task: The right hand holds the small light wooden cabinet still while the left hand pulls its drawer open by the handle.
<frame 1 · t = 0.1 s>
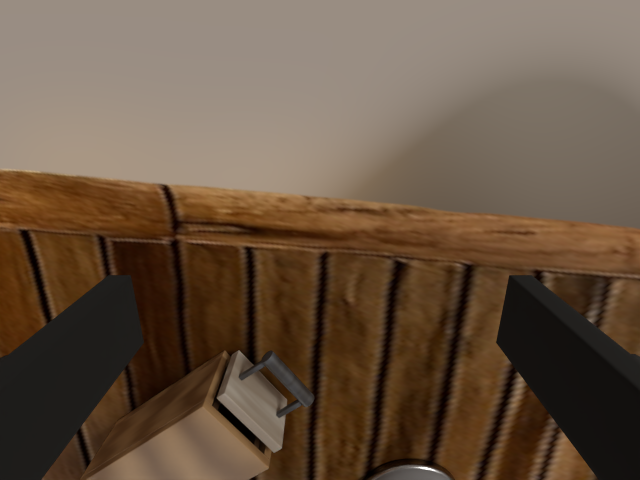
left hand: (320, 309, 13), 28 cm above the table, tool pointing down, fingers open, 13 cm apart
drawer: (218, 421, 45), point 5 cm above the table, slide at 1.0 cm
cabinet: (197, 412, 50), on the table
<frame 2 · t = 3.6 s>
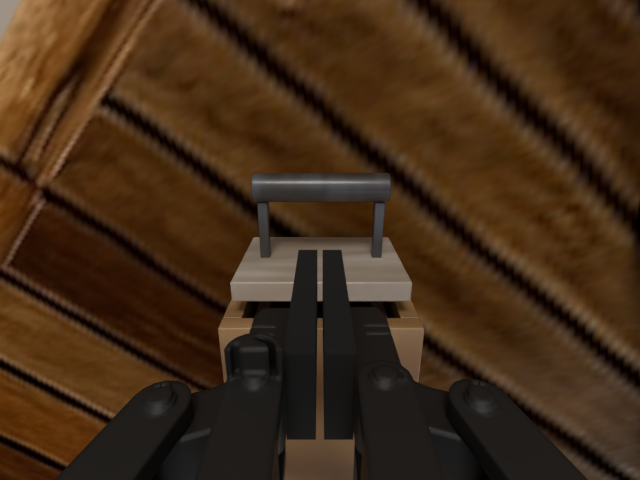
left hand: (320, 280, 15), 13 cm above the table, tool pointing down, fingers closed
drawer: (320, 344, 25), point 5 cm above the table, slide at 1.0 cm
cabinet: (320, 364, 32), on the table, touching right hand
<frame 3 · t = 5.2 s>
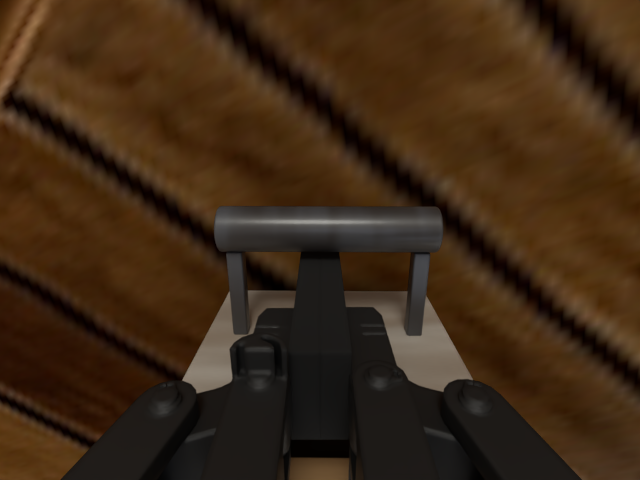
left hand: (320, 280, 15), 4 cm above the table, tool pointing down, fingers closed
drawer: (326, 452, 17), point 5 cm above the table, slide at 1.3 cm
cabinet: (325, 455, 23), on the table, touching right hand
when the right hand's fingers open (5 cm above the table, at t = 8.5 s): cabinet stays where it is, on the table.
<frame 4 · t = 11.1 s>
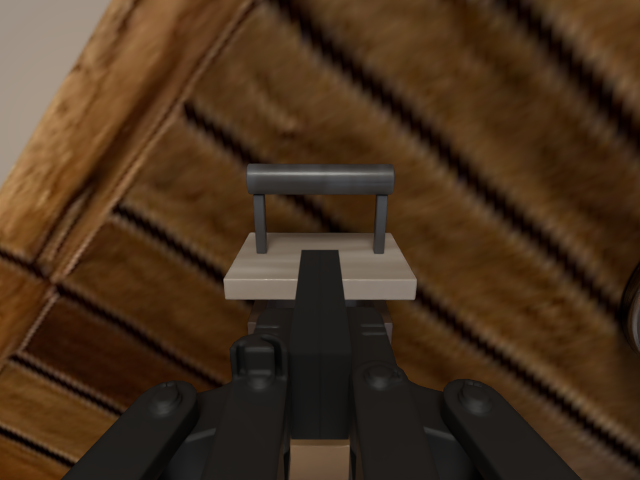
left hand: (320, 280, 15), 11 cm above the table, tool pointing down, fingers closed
drawer: (320, 344, 24), point 5 cm above the table, slide at 8.9 cm
cabinet: (319, 437, 33), on the table
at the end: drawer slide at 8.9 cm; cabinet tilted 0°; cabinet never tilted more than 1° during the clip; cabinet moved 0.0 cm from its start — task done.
